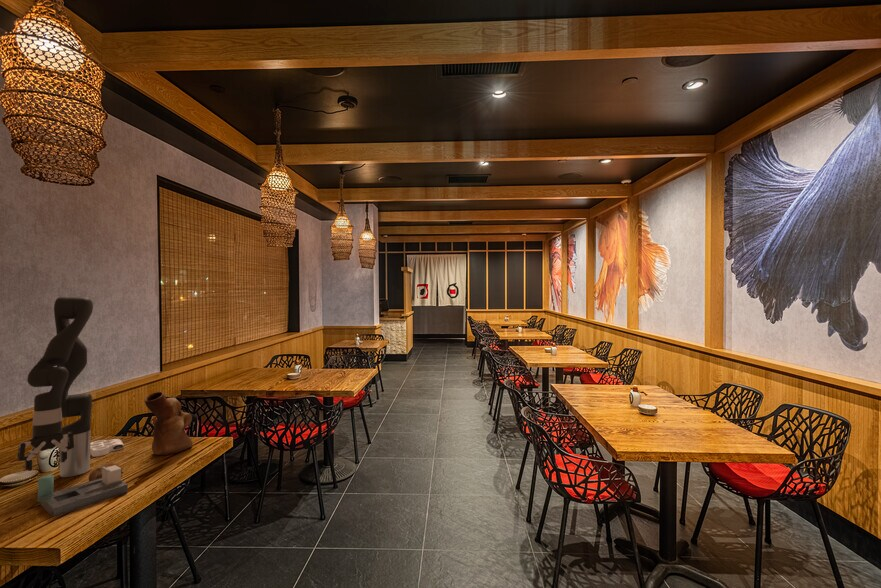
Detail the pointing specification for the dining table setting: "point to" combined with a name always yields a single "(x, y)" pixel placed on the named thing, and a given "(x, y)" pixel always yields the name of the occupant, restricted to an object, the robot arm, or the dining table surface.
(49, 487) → the peg
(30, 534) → the dining table surface
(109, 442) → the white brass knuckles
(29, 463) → the robot arm
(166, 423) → the ceramic vessel
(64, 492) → the housing
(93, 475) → the bread roll
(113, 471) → the block
